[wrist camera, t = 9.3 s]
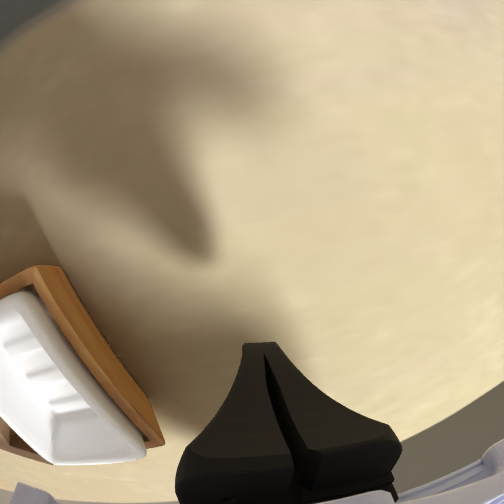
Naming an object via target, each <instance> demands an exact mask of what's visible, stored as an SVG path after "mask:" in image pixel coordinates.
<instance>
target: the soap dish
mask: <svg viewBox="0 0 504 504" xmlns="http://www.w3.org/2000/svg"><path fill="white" fill-rule="evenodd" d="M0 417H1V418H2V419H3V420H4V421H5V422H6V423H7V424H8V425H9V426H10V427H11V428H12V429H13V430H14V431H15V432H16V433H17V434H18V435H19V436H20V437H21V438H22V439H23V440H24V441H25V442H26V443H27V444H28V445H29V446H30V447H31V448H33V449H34V450H35V451H36V452H37V453H38V454H39V455H41V456H42V457H43V458H44V459H46V460H47V461H49V462H50V463H53V464H57V465H92V464H109V463H120V462H128V461H134V460H138V459H141V458H144V457H145V456H146V449H149V448H154V447H158V446H163V445H165V440H164V437H163V435H162V432H161V430H160V427H159V424H158V422H157V419H156V417H155V414H154V411H153V409H152V406H151V403H150V401H149V399H148V398H147V395H146V394H145V393H144V392H143V391H142V390H141V389H140V387H139V386H138V385H137V383H136V382H135V381H134V379H133V378H132V377H131V376H130V374H129V373H128V372H127V370H126V369H125V367H124V366H123V365H122V363H121V362H120V361H119V359H118V358H117V356H116V355H115V354H114V352H113V351H112V349H111V348H110V346H109V345H108V343H107V342H106V340H105V339H104V337H103V336H102V335H101V333H100V332H99V330H98V328H97V327H96V325H95V324H94V322H93V321H92V319H91V318H90V316H89V314H88V313H87V311H86V309H85V308H84V306H83V305H82V303H81V301H80V300H79V298H78V296H77V295H76V293H75V291H74V289H73V288H72V286H71V284H70V283H69V281H68V278H67V276H66V275H65V273H64V272H63V270H62V268H61V267H59V266H50V265H34V266H31V267H29V268H27V269H25V270H23V271H22V272H20V273H18V274H16V275H14V276H13V277H11V278H9V279H7V280H5V281H4V282H2V283H0Z"/></svg>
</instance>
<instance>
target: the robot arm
mask: <svg viewBox="0 0 504 504" xmlns="http://www.w3.org/2000/svg"><path fill="white" fill-rule="evenodd" d="M401 452H402V445H401V443H400V442H399V440H398V438H397V436H396V435H395V433H394V432H393V430H392V429H391V427H390V426H389V425H387V424H385V423H382V422H379V421H376V420H373V419H370V418H368V417H365V416H363V415H361V414H359V413H356V412H354V411H352V410H350V409H348V408H347V407H345V406H343V405H341V404H340V403H338V402H336V401H335V400H333V399H332V398H330V397H329V396H327V395H326V394H325V393H323V392H322V391H321V390H319V389H318V388H317V387H316V386H315V385H313V384H312V383H311V382H310V381H309V380H308V379H307V378H306V377H305V376H304V375H303V374H302V373H301V372H300V371H299V370H298V369H297V368H296V367H295V366H294V364H293V363H292V362H291V361H290V360H289V359H288V357H287V356H286V355H285V354H284V352H283V351H282V350H281V348H280V347H279V346H278V344H277V343H276V342H263V343H245V344H244V345H243V346H242V359H241V363H240V367H239V370H238V373H237V376H236V378H235V381H234V383H233V386H232V388H231V390H230V392H229V394H228V396H227V398H226V400H225V401H224V403H223V405H222V406H221V408H220V409H219V411H218V412H217V414H216V415H215V417H214V418H213V419H212V420H211V422H210V423H209V424H208V425H207V426H206V428H205V429H204V430H203V431H202V432H201V433H200V434H199V435H198V436H197V437H196V438H195V439H194V440H193V441H192V442H191V443H190V444H189V445H188V446H187V447H186V448H185V450H184V452H183V455H182V457H181V459H180V462H179V465H178V468H177V472H176V478H175V493H176V495H177V498H178V500H179V503H180V504H504V439H502V440H501V441H499V442H497V443H495V444H494V445H492V446H491V447H490V448H489V449H488V450H487V451H486V452H485V453H484V455H483V456H482V458H481V459H480V460H478V461H476V462H474V463H472V464H470V465H468V466H466V467H464V468H462V469H460V470H457V471H455V472H453V473H451V474H449V475H446V476H444V477H442V478H439V479H437V480H435V481H432V482H430V483H427V484H425V485H422V486H419V487H417V488H414V489H411V490H409V491H406V492H403V493H400V494H397V493H396V491H395V488H394V486H393V484H392V482H393V481H394V477H393V475H392V472H391V470H392V469H393V467H394V466H395V464H396V462H397V461H398V459H399V457H400V455H401ZM10 504H61V503H57V502H56V500H55V499H54V498H53V497H52V496H51V495H50V494H49V493H47V492H46V491H44V490H41V489H38V488H35V487H32V486H29V485H26V484H23V483H21V482H18V483H17V486H16V488H15V491H14V494H13V496H12V499H11V502H10Z"/></svg>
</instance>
